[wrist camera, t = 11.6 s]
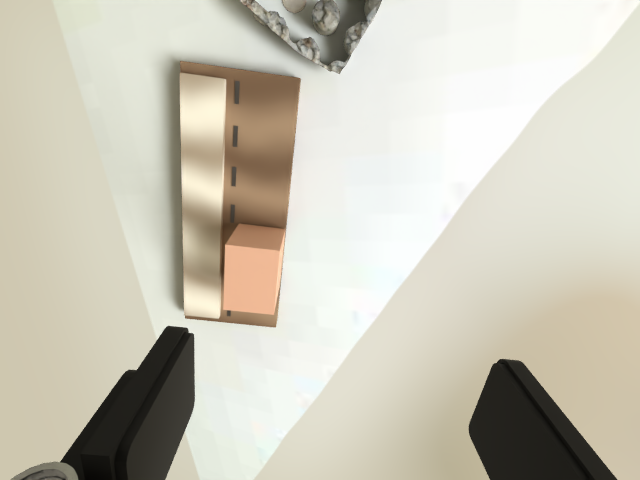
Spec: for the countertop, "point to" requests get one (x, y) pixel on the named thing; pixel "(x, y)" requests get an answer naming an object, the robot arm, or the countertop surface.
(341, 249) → the countertop surface
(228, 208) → the board
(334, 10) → the egg carton
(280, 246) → the peach rectangular block
